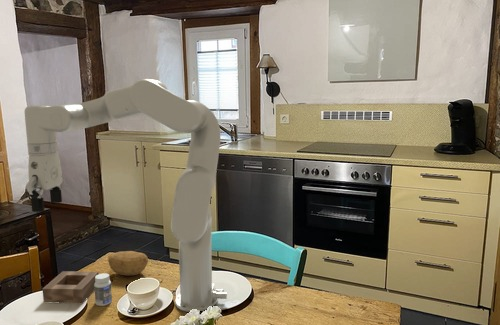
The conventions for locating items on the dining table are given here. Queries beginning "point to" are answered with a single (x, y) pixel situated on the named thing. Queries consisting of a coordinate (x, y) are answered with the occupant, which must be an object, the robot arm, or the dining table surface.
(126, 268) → the potato
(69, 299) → the socket block
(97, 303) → the pill bottle
